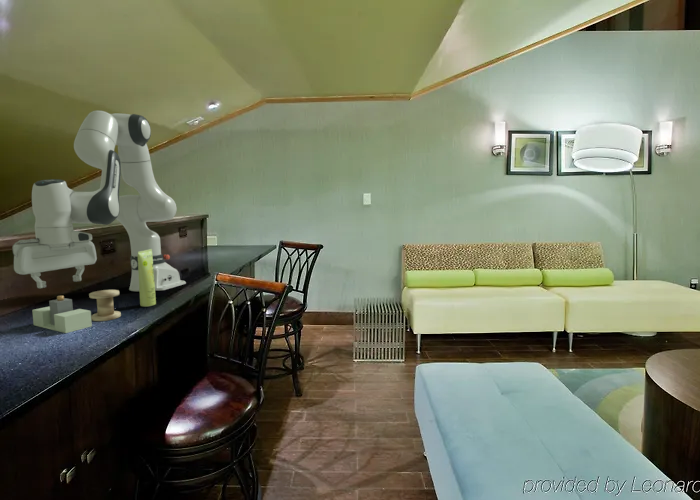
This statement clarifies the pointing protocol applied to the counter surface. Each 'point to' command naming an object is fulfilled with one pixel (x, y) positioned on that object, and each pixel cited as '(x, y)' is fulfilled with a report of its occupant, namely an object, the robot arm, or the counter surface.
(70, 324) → the notch board
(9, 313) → the counter surface
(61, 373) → the counter surface
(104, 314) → the bobbin
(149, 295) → the tube
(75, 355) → the counter surface
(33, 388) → the counter surface
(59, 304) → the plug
